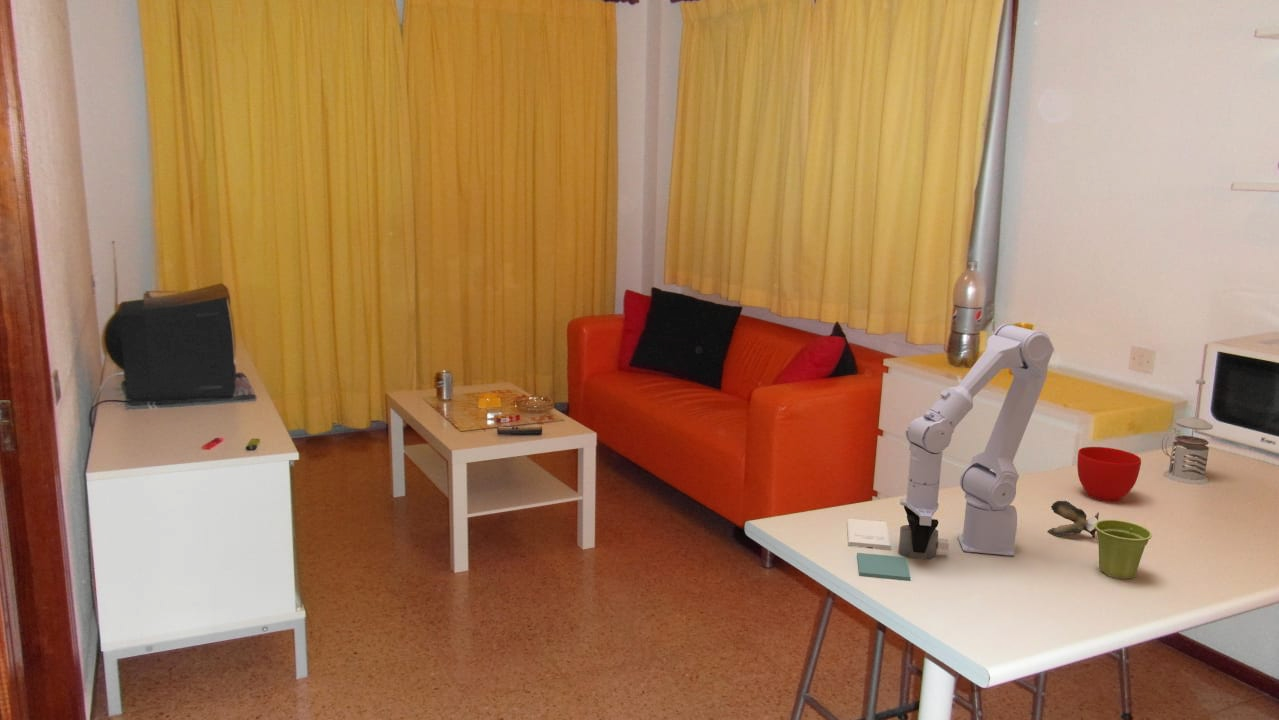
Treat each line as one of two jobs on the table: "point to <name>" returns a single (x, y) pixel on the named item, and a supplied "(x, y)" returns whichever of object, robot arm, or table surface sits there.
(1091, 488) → the red bowl
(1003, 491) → the robot arm
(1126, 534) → the plant pot
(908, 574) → the mat
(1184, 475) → the french press
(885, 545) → the external hard drive
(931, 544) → the plug
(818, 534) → the table surface
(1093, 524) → the eagle figurine
